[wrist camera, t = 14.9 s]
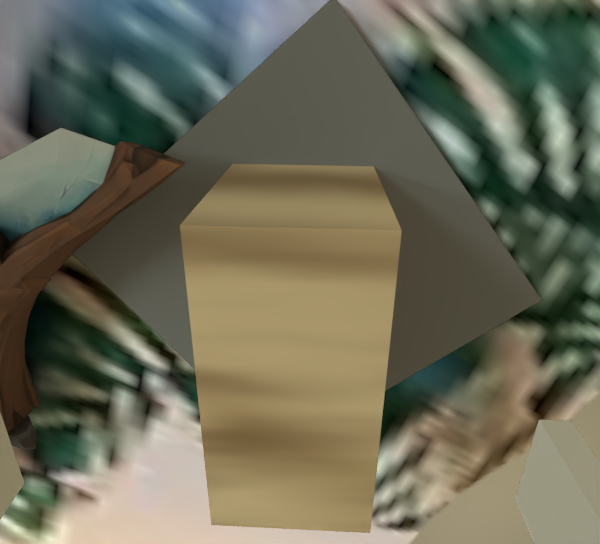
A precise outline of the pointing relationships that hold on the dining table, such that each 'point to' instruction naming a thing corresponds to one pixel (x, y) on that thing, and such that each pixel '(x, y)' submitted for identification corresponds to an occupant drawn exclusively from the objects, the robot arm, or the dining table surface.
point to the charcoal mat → (329, 152)
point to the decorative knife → (56, 235)
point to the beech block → (292, 341)
